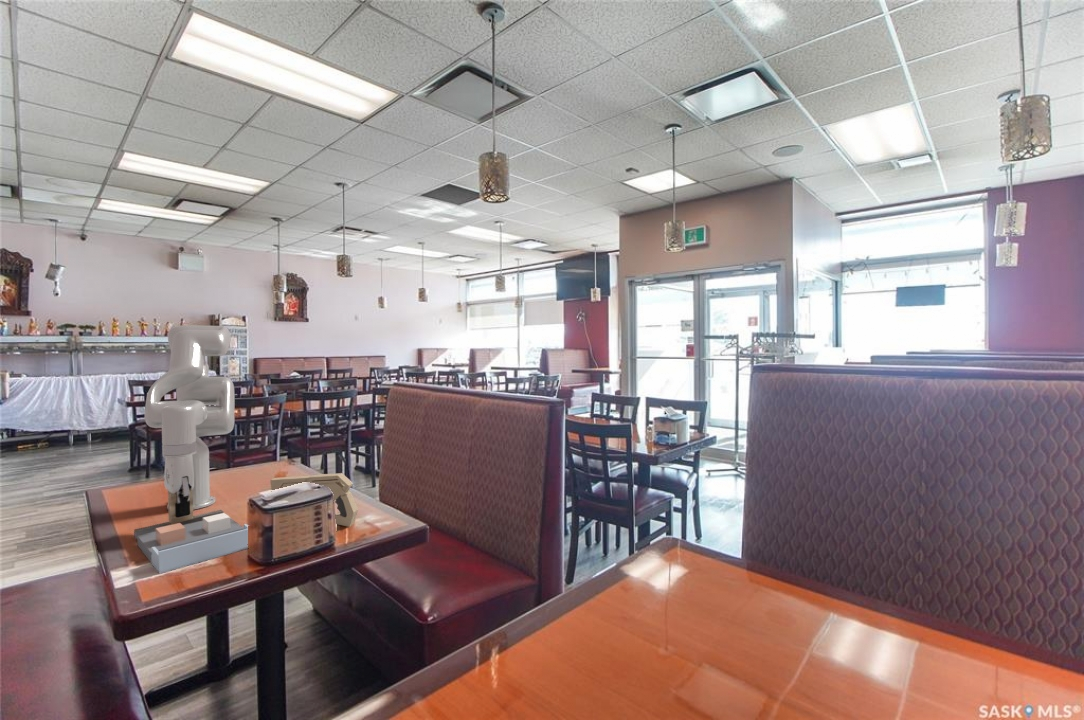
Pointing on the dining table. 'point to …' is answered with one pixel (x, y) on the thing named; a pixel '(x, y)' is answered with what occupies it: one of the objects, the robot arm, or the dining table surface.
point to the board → (192, 534)
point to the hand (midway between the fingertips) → (181, 513)
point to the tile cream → (216, 523)
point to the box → (199, 551)
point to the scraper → (172, 516)
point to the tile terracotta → (170, 534)
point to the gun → (336, 485)
